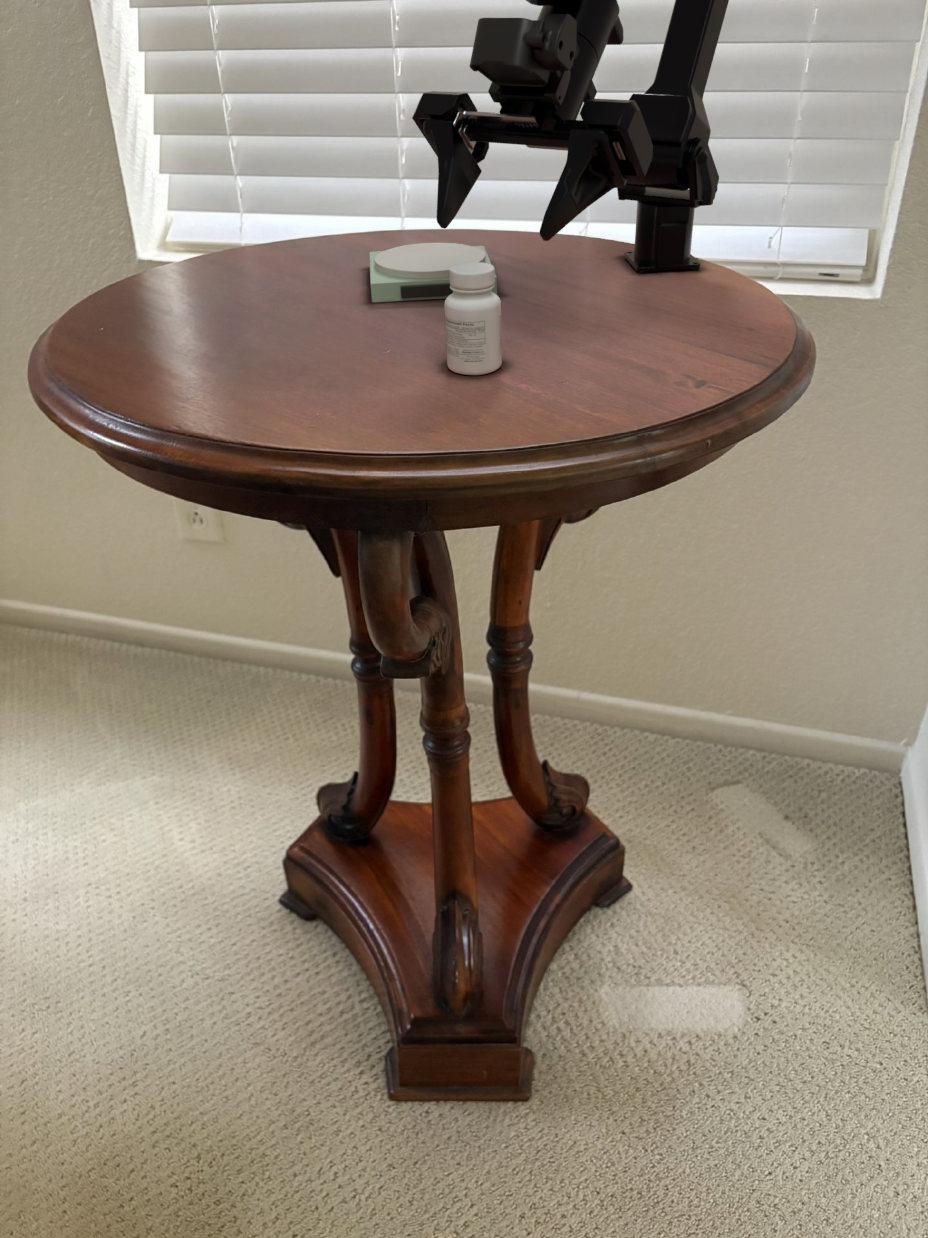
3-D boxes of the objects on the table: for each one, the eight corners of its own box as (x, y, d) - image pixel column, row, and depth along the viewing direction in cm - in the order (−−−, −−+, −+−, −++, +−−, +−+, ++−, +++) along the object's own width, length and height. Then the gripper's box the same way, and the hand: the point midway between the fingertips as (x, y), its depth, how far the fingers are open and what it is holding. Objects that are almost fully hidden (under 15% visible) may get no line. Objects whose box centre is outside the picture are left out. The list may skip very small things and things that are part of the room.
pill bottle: (474, 353, 83) (471, 256, 79) (513, 365, 80) (512, 266, 76) (435, 367, 80) (430, 268, 76) (474, 380, 78) (471, 278, 73)
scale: (370, 269, 106) (368, 244, 104) (484, 263, 106) (483, 238, 105) (372, 303, 95) (369, 277, 94) (497, 296, 96) (497, 270, 95)
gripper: (419, -30, 76) (341, 153, 74) (648, -35, 67) (565, 172, 65) (477, 77, 85) (409, 241, 84) (684, 85, 77) (612, 268, 75)
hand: (490, 231), depth 77 cm, fingers open, 9 cm apart
